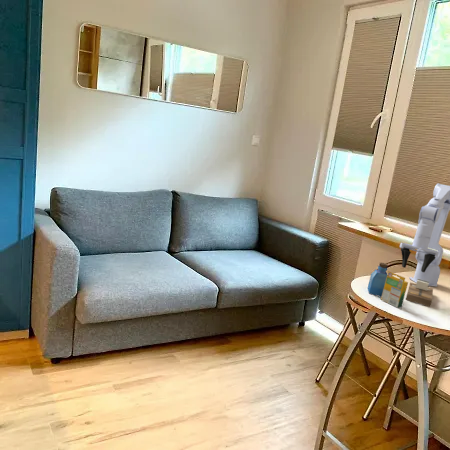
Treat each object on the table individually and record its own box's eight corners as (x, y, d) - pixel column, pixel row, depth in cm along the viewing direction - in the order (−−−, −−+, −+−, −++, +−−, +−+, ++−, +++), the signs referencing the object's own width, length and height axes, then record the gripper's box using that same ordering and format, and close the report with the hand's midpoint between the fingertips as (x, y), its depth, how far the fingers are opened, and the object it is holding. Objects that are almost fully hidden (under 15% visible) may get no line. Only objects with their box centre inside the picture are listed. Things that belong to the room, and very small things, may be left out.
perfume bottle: (385, 297, 176) (393, 267, 174) (369, 293, 177) (376, 264, 175) (383, 292, 182) (390, 263, 180) (367, 288, 183) (374, 260, 181)
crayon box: (401, 307, 168) (410, 277, 166) (397, 308, 167) (405, 278, 164) (385, 299, 174) (392, 270, 171) (380, 299, 172) (388, 270, 170)
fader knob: (415, 285, 188) (417, 277, 188) (427, 288, 187) (429, 281, 186) (415, 287, 186) (417, 279, 185) (426, 290, 184) (429, 282, 183)
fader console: (408, 287, 193) (410, 282, 193) (431, 294, 190) (433, 288, 189) (405, 299, 177) (407, 293, 177) (430, 307, 174) (432, 300, 173)
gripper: (407, 233, 176) (398, 267, 178) (445, 242, 175) (435, 276, 177) (402, 230, 183) (392, 263, 185) (438, 239, 182) (428, 272, 184)
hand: (413, 269), depth 181 cm, fingers open, 7 cm apart
